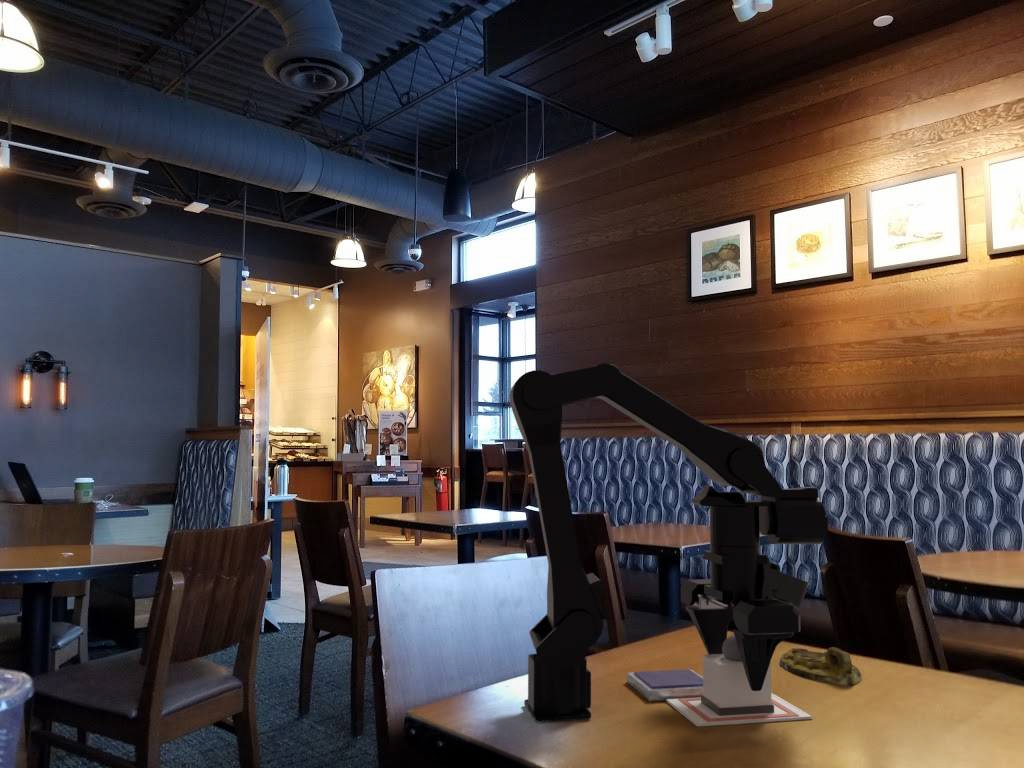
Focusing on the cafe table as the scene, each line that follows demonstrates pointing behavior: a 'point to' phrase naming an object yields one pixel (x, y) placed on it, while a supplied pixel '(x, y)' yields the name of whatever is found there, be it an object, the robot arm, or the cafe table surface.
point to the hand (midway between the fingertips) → (736, 678)
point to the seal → (822, 666)
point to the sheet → (707, 717)
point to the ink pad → (667, 684)
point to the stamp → (732, 684)
